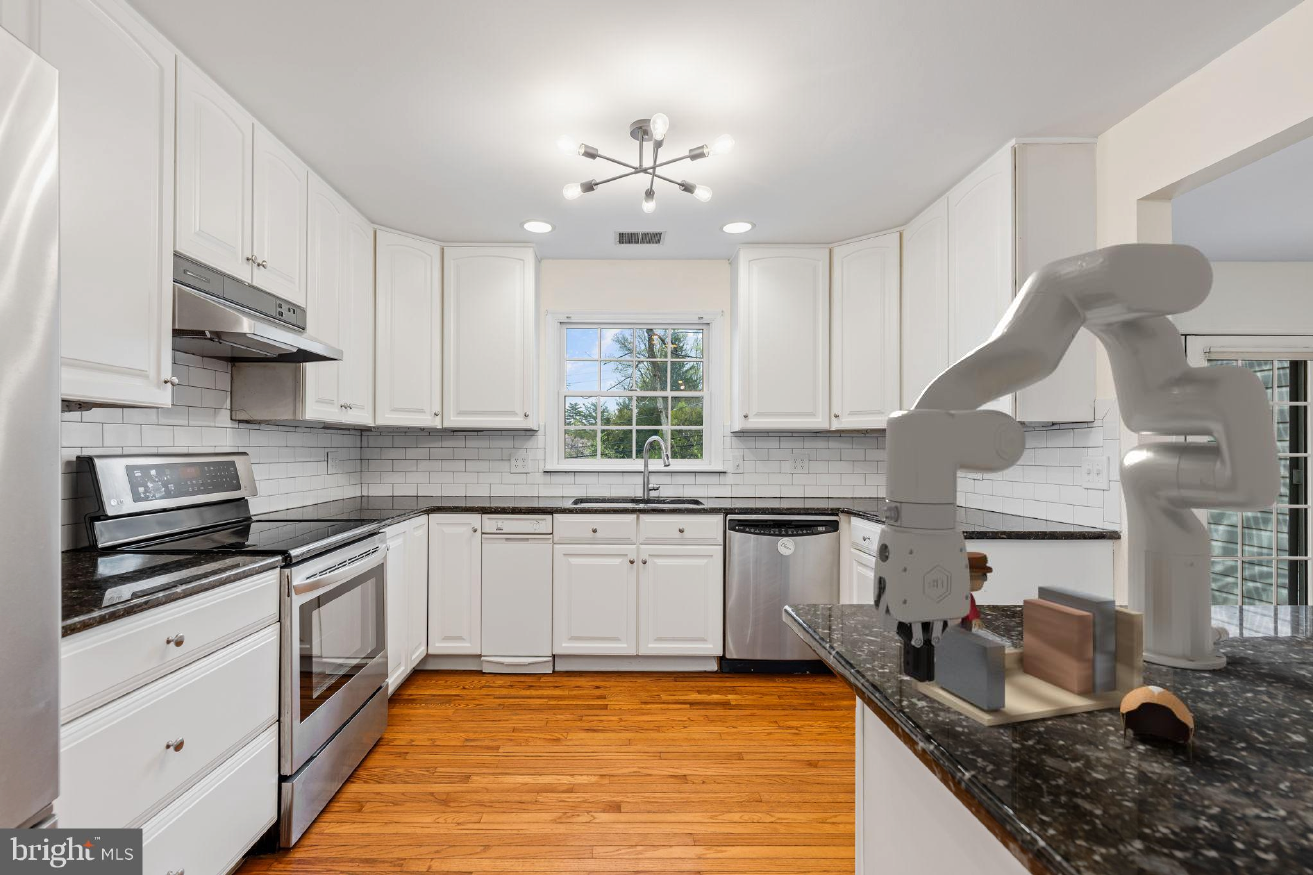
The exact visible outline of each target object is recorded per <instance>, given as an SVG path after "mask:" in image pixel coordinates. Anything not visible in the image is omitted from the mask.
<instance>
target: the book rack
mask: <svg viewBox="0 0 1313 875" xmlns="http://www.w3.org/2000/svg"><path fill="white" fill-rule="evenodd" d="M1037 596H1038V597H1037V598H1028V599H1027V598H1025V599H1023V600H1022V602H1023V603H1022V605H1023V607H1022V608H1023V610H1022V614H1023V615H1022V616H1023V617H1022V619H1023V620H1022V621H1023V622H1022V623H1023V625H1022V626H1023V627H1022V633H1023V634H1022V635H1023V638H1022V639H1023V640H1022V641H1023V642H1022V643H1023V645H1022V647H1017V648H1016V647H1015V648H1014V647H1013V648H1005V708H1002V709H995V710H988V711H987V710H985V709H983V708H981V707H979V706H977V705H975V704H974V703H972V702H970V701H968V700H966V699H964V698H962V697H960V696H959V695H957V694H955V693H953V692H951V691H949V690H947V689H945V688H944V687H942V686H940V685H938V684H936V683H935V669H934V681H931V682H928V681H926V682H922V683H920V682H919V681H917V680H915V679H913V678H911V688H913V689H914V690H916V691H919V692H920V693H922V694H924V695H926V696H927V697H930V698H932V699H934V700H936V701H938V702H940V703H942V704H943V705H945V706H947V707H949V708H952V710H953V709H954V710H955V711H956V712H959V713H961V714H963V715H964V716H966V717H968V718H970V719H972V720H974V721H976V722H978V723H980V724H982V725H984V726H986V727H990V726H995V725H996V726H997V725H1002V724H1003V725H1005V724H1009V723H1018V722H1023V721H1024V722H1025V721H1029V720H1030V721H1031V720H1037V719H1042V718H1050V717H1058V716H1063V715H1070V714H1076V713H1082V712H1089V711H1097V710H1103V709H1108V708H1109V709H1111V708H1116V707H1121V703H1122V700H1123V698H1124V697H1125V696H1126V695H1127V694H1128V693H1130V692H1131V691H1133V690H1135V689H1138V688H1141V687H1144V660H1143V613H1140V612H1136V611H1132V610H1128V608H1124V607H1120V606H1116V599H1112V598H1109V597H1105V596H1099V595H1096V594H1092V593H1088V592H1084V591H1081V590H1076V589H1073V588H1069V587H1065V586H1060V585H1057V584H1054V585H1041V586H1038V587H1037Z"/></svg>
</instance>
